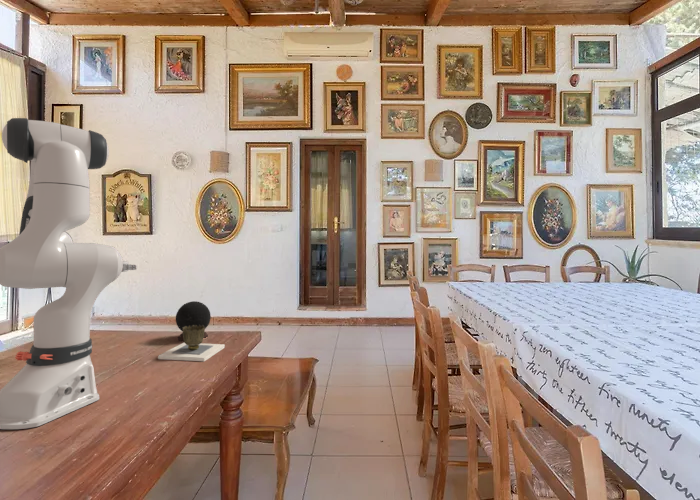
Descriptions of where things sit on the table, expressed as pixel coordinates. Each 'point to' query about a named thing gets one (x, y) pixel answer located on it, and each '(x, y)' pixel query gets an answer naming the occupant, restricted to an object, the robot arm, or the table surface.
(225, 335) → the table surface
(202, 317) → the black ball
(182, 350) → the tile plinth
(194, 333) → the cup
